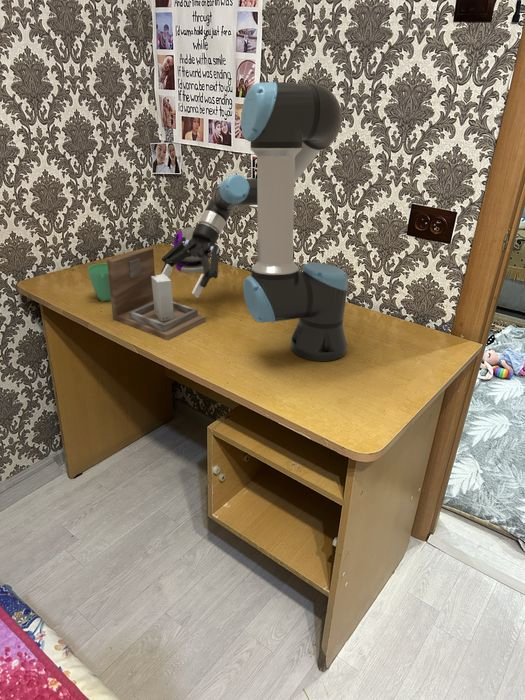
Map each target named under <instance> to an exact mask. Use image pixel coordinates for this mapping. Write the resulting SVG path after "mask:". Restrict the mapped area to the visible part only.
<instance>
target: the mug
mask: <svg viewBox="0 0 525 700" xmlns="http://www.w3.org/2000/svg"><path fill="white" fill-rule="evenodd" d="M87 273H88V276H89V279H90V282H91V284H92V287H93V289H94V292H95V294H96V295H97V298H98V299H99V301H102V302H108V301H109V300H110V301H111V295H110V285H109V275H108V265H107V262H106V263H104V262H103V263H98V264H97V263H95V264H92V265H90V266H89V267H88V268H87Z"/></svg>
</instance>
